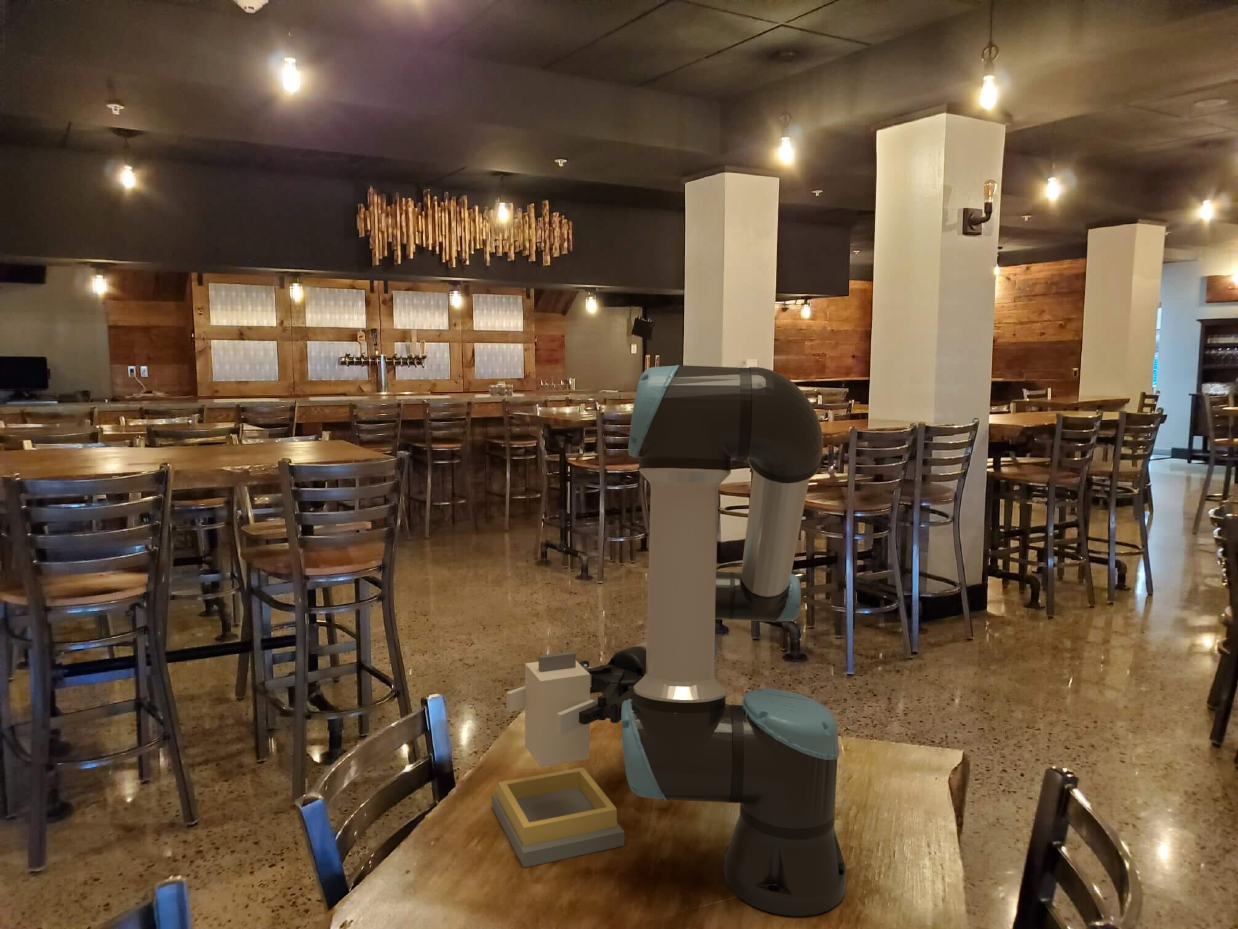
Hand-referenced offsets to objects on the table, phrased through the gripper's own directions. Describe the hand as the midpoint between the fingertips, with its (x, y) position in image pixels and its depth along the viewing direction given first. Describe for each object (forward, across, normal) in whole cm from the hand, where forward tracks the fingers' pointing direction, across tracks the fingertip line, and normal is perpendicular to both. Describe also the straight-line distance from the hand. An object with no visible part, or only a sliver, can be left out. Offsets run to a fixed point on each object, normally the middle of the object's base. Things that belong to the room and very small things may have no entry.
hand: (532, 713), depth 113 cm
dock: (-4, 0, -18) cm, 18 cm away
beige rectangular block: (-4, 0, -7) cm, 8 cm away
